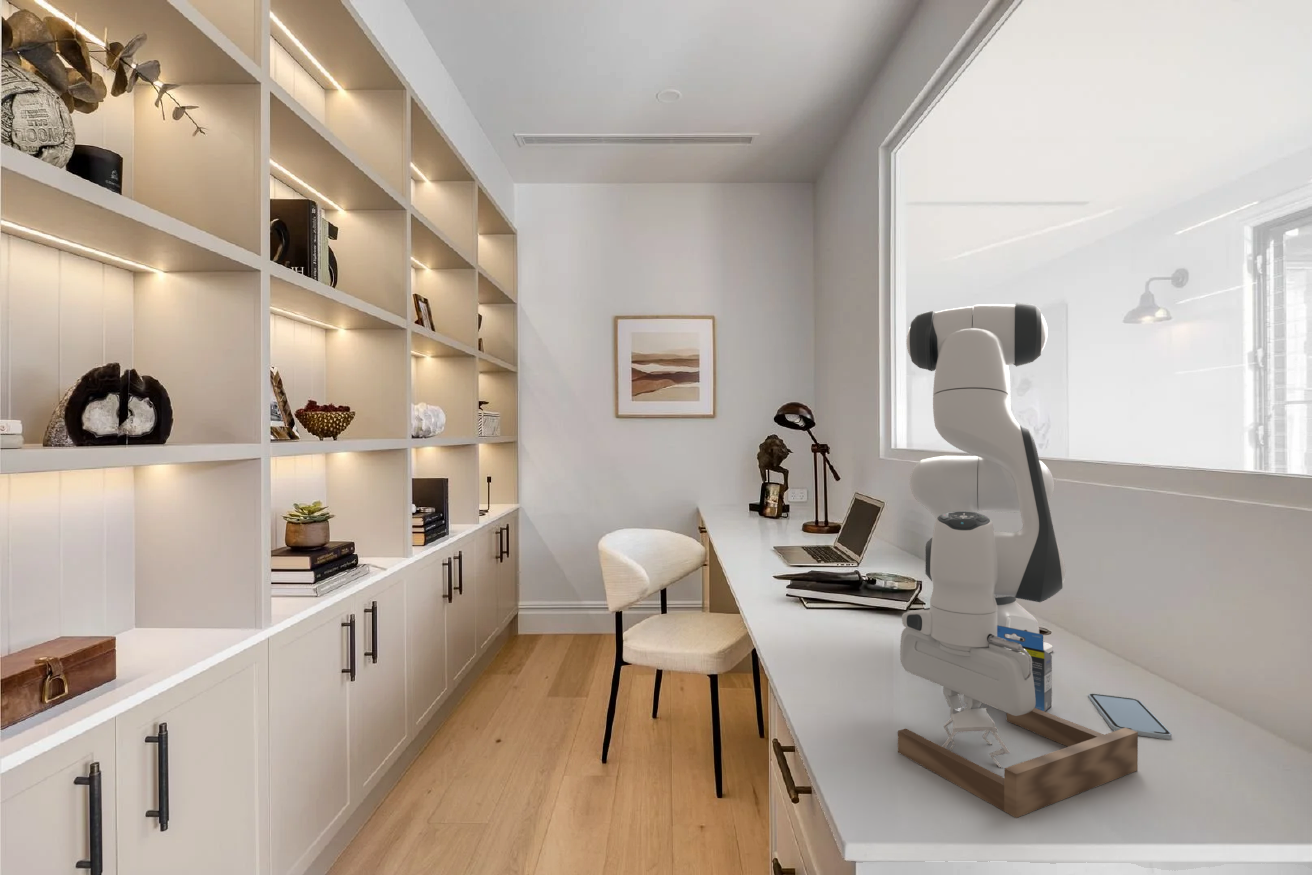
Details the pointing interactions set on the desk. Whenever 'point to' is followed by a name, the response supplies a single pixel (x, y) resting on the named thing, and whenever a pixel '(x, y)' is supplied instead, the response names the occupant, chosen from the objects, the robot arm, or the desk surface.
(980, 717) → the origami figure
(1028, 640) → the label tape cartridge
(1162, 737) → the smartphone
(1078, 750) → the walnut bay
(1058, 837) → the desk surface
